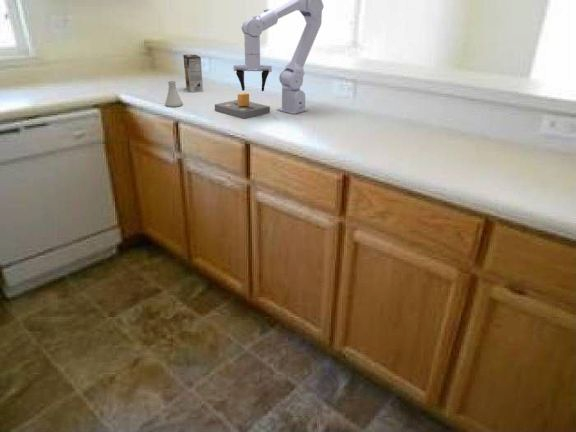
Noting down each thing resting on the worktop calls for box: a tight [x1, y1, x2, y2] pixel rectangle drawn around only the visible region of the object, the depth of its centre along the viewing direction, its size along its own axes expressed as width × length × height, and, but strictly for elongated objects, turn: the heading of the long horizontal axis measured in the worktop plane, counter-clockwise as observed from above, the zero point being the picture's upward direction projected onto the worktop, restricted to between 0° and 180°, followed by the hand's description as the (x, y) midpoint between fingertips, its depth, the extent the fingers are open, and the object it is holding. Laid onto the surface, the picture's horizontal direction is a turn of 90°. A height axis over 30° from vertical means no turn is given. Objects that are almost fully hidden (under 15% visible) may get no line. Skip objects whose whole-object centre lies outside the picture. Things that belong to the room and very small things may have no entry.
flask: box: [164, 80, 184, 108], centre depth 188 cm, size 7×7×10 cm
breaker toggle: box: [237, 92, 250, 106], centre depth 180 cm, size 2×4×4 cm, turn 137°
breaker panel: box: [214, 99, 271, 120], centre depth 182 cm, size 18×14×3 cm
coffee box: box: [183, 54, 204, 93], centre depth 215 cm, size 9×6×16 cm
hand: (253, 90), depth 174 cm, fingers open, 7 cm apart
